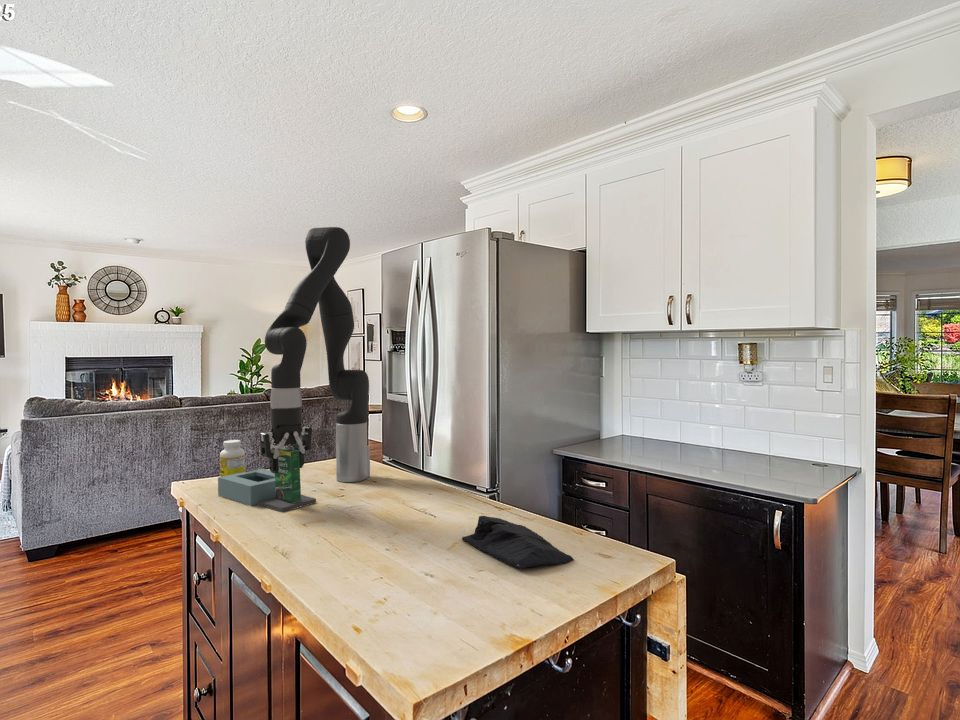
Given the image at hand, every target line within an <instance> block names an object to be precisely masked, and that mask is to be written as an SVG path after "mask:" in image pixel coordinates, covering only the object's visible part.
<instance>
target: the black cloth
mask: <svg viewBox="0 0 960 720" xmlns="http://www.w3.org/2000/svg"><path fill="white" fill-rule="evenodd" d="M461 540H462V541H464V542H465V543H469V544H470V545H471V546H472V547H474V548H475V549H477V550H479V551H480V552H482V553H485V554H488V555H491V556H492V557H493V558H495V559H497V560H498V561H501V562H504V564H506V565H509V566H510V567H513V568H516V569H517V568H518V569H526V568H532V567H539V566H553V565H563V564H567V563H569V562H572V561H574V560H575V558H573V557H572V555H570V554H567V553H565V552H564V551H561V550H560V549H558V548H557V547H555V546H554V545H553V544H552V543H551V542H549V541H548V540H546V538H544V537H543V536H541V535H540V534H538V533H536V532H535V531H533V530H531V529H530V528H528V527H526V526H525V525H523V524H518V523H513V522H511V521H508V520H505V519H502V518H500V517H499V518H498V517H494V516H486V515H479V517H478V521H477V524H476V527H475V528H474V533H471V534H469V535H466V536H462V538H461Z"/></svg>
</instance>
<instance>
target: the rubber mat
mask: <svg viewBox="0 0 960 720" xmlns="http://www.w3.org/2000/svg"><path fill="white" fill-rule="evenodd" d="M314 502H316V503H317V498H315V497H310V496H306V495H303V494H301V501H299V502H296V503H290V502H287V501H284V500H280V499H277V498H276V497H273V498H269V499H266V500H262V501H258V504H257V505H258V506H259V507H260V506H261V507H263V508H266V509H270V510H272V511H273V510H274V511H276V512H279V513H284V512H287V510H288V511H291V510H294V508H295V509H298V508H301V507H300V506H302V507H305V506H304V505H306V506H308V505H307V504H309V505H311V504H310V503H313V504H315V503H314ZM297 507H298V508H297ZM290 509H291V510H290Z"/></svg>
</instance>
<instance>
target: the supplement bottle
mask: <svg viewBox="0 0 960 720" xmlns="http://www.w3.org/2000/svg"><path fill="white" fill-rule="evenodd" d="M222 445H223V450H221V452H220V453H219V477H222V476H227V475H232V474H237V473H242V472H246V465H245V464H246V463H245V462H246V460H245V459H246V456H245V455H246V453H245V450H244V449H243V448H241V445H242V440H240V439H230V440H224V441H223V444H222Z"/></svg>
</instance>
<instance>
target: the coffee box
mask: <svg viewBox="0 0 960 720" xmlns="http://www.w3.org/2000/svg"><path fill="white" fill-rule="evenodd" d="M277 458H278V473H276V474H275V489H276V498H277V499H280V500H284V501H287V502H290V503H296V502H299V501H301V495H302V490H301V468H300V459H299V450H295V449H294V448H293V449H292V448H288V447H287V448H286V447H283V448H282V450H281V451H280V452H279V455H278V457H277Z"/></svg>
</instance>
